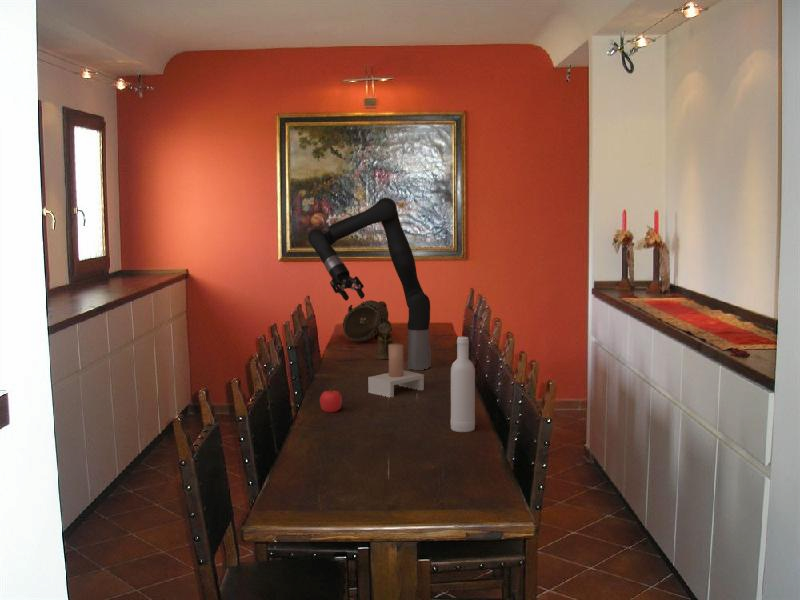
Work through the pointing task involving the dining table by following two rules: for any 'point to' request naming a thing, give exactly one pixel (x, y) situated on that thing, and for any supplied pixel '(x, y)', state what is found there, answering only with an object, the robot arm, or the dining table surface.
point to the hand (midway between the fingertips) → (355, 298)
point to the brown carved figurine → (384, 341)
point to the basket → (365, 320)
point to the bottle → (462, 389)
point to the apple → (330, 401)
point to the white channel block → (394, 383)
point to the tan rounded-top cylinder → (395, 360)
